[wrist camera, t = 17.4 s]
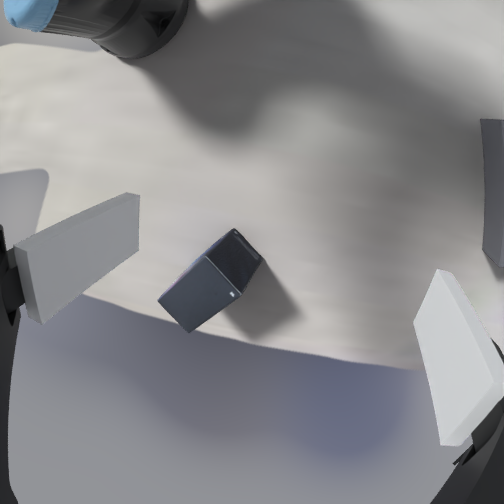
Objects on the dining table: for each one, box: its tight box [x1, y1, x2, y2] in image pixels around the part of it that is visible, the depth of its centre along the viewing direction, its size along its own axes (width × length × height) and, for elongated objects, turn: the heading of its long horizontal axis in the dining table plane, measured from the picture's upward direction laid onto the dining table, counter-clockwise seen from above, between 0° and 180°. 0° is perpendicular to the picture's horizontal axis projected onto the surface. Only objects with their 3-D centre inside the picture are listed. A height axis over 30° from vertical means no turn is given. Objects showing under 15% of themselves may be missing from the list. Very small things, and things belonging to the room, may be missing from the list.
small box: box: [158, 228, 263, 333], centre depth 42 cm, size 11×6×10 cm, turn 134°
